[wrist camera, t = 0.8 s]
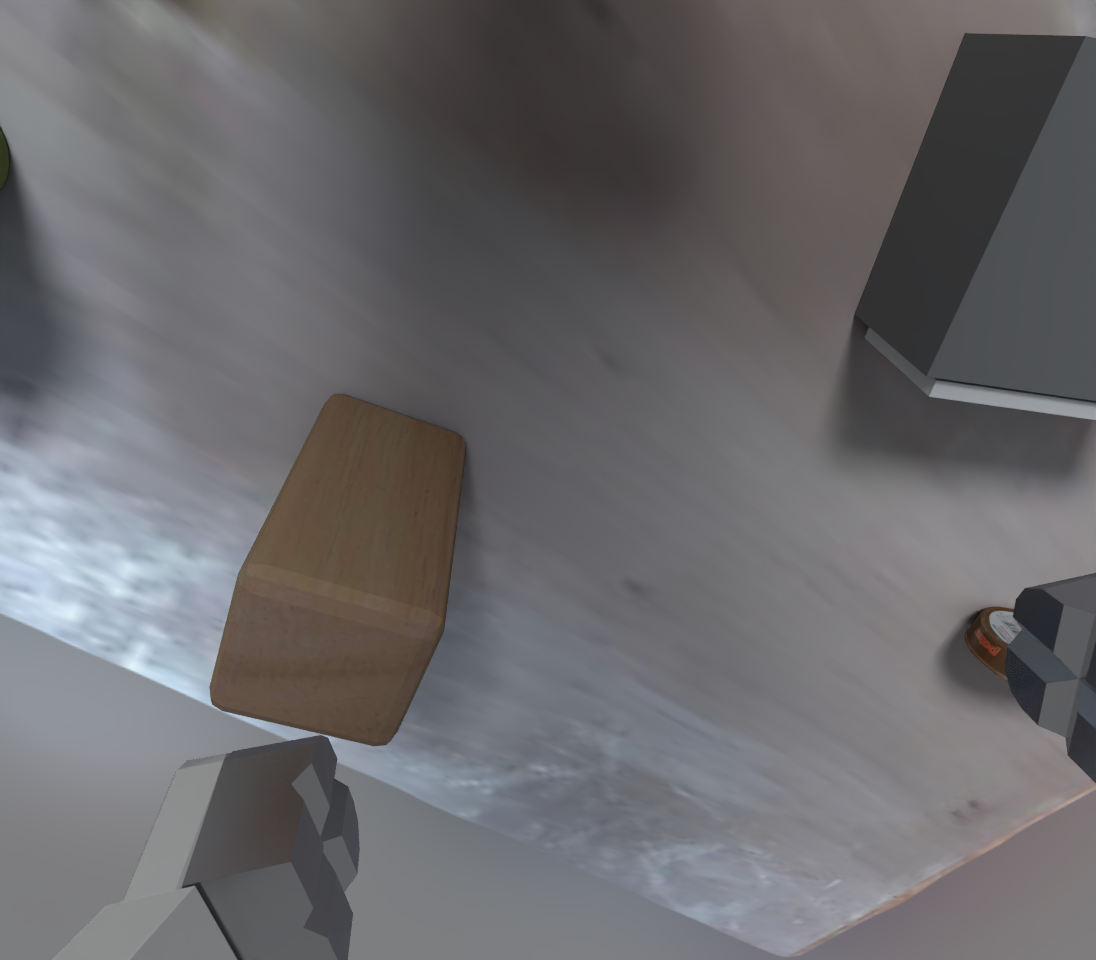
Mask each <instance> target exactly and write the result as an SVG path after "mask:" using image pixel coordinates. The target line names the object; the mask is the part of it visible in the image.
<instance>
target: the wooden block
mask: <svg viewBox="0 0 1096 960" xmlns="http://www.w3.org/2000/svg"><path fill="white" fill-rule="evenodd" d="M465 455H466V442H465V439H464V438H463V437H462V436H460V435H459V434H457V433H455V432H452V431H449V430H447V429H444V428H441V427H438V426H435V425H432V424H429V423H426V422H423V421H420V420H417V419H414V418H412V417H409V416H406V415H403V414H400V413H397V412H394V411H391V410H388V409H385V408H382V407H379V406H377V405H374V404H371V403H368V402H365V401H362V400H359V399H356V398H353V397H350V396H347V395H344V394H334V395H332V396H331V397H330V398H329V399H328V400H327V401H326V403H325V404H324V406H323V408H322V410H321V412H320V414H319V416H318V418H317V420H316V422H315V424H314V426H313V428H312V430H311V432H310V434H309V436H308V438H307V440H306V442H305V444H304V445H303V447H302V449H301V451H300V453H299V455H298V457H297V459H296V461H295V463H294V465H293V467H292V469H291V471H290V473H289V475H288V477H287V479H286V481H285V483H284V485H283V487H282V489H281V491H280V493H279V495H278V497H277V499H276V501H275V503H274V504H273V506H272V508H271V510H270V512H269V514H268V516H267V518H266V520H265V522H264V524H263V526H262V528H261V530H260V532H259V534H258V536H257V538H256V540H255V542H254V544H253V546H252V548H251V550H250V552H249V554H248V556H247V558H246V560H245V562H244V563H243V565H242V567H241V569H240V571H239V573H238V577H237V581H236V585H235V589H234V593H233V597H232V601H231V605H230V608H229V612H228V616H227V620H226V624H225V628H224V632H223V636H222V640H221V644H220V648H219V652H218V656H217V660H216V664H215V668H214V672H213V676H212V679H211V683H210V697H211V702H212V705H214V706H215V707H217V708H219V709H220V710H222V711H225V712H230V713H234V714H238V715H242V716H247V717H251V718H255V719H260V720H264V721H268V722H273V723H277V724H281V725H286V726H290V727H294V728H298V729H303V730H307V731H311V732H316V733H320V734H324V735H329V736H333V737H337V738H341V739H346V740H350V741H354V742H359V743H363V744H367V745H372V746H380V745H386V744H387V743H389V742H390V741H391V740H392V738H393V737H394V735H395V734H396V733H397V731H398V729H399V727H400V725H401V723H402V721H403V718H404V716H405V714H406V712H407V710H408V708H409V705H410V703H411V701H412V699H413V697H414V695H415V692H416V690H417V688H418V686H419V684H420V682H421V679H422V677H423V675H424V673H425V671H426V669H427V666H428V664H429V662H430V660H431V658H432V656H433V653H434V651H435V649H436V647H437V645H438V643H439V640H440V638H441V636H442V634H443V632H444V627H445V619H446V611H447V602H448V594H449V586H450V578H451V570H452V562H453V553H454V545H455V537H456V529H457V521H458V513H459V504H460V496H461V488H462V480H463V472H464V463H465Z"/></svg>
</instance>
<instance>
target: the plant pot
mask: <svg viewBox="0 0 1096 960" xmlns="http://www.w3.org/2000/svg"><path fill="white" fill-rule="evenodd" d="M8 171H9V155H8V148H7V145H6V141H5V139H4V136H3V133H2V131H1V129H0V189H1V188H2V187H3V185H4V183H5V181H6V179H7V176H8Z"/></svg>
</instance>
